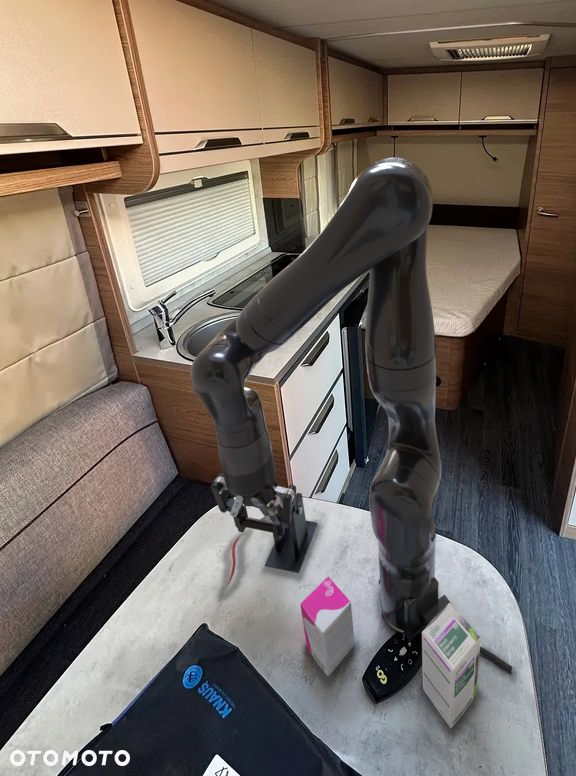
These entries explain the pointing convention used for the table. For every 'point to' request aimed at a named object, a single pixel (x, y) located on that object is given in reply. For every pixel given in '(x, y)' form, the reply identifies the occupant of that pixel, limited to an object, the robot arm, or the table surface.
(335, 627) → the supplement box
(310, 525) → the bracket
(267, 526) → the lever
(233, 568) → the cayenne pepper
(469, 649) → the syrup box
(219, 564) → the table surface
